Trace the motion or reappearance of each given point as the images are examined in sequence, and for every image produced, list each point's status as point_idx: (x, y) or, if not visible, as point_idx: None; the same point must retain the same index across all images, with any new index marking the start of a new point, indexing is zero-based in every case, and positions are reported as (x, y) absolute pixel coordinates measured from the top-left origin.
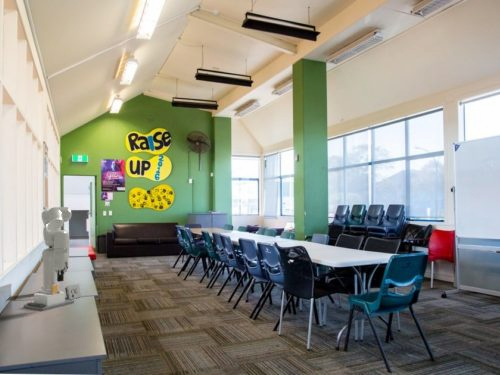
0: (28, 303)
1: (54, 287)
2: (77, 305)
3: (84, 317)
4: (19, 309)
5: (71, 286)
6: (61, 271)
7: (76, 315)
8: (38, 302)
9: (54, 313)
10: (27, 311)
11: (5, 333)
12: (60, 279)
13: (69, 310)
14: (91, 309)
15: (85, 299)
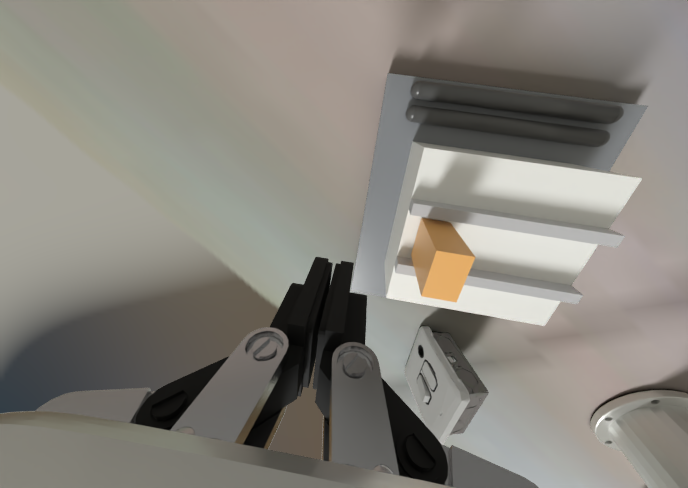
0: (600, 105)
1: (428, 254)
2: (294, 250)
3: (22, 45)
4: (627, 30)
5: (447, 406)
6: (199, 415)
7: (100, 65)
8: (522, 157)
9: (258, 47)
10: (504, 3)
11: None
12: (299, 285)
13: (240, 149)
14: (162, 205)
15: None
